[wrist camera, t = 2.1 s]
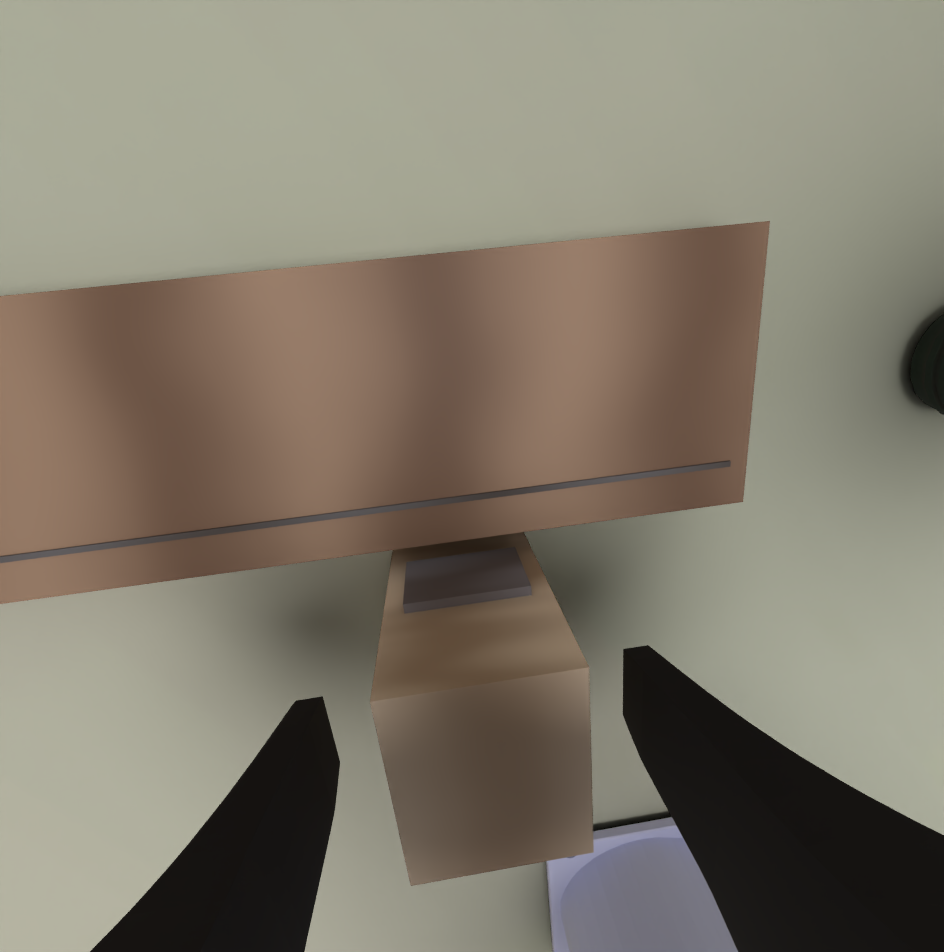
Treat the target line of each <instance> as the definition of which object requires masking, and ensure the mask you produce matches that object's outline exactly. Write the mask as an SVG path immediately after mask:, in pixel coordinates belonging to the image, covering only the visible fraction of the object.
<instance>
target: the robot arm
mask: <svg viewBox="0 0 944 952" xmlns="http://www.w3.org/2000/svg"><path fill="white" fill-rule="evenodd" d="M623 716H624V719H625V721H626V724H627V726H628V729H629V731H630V734H631V736H632V739H633V741H634V744H635V746H636V748H637V751H638V753H639V756H640V758H641V760H642V762H643V764H644V766H645V768H646V770H647V772H648V773H649V775H650V777H651V779H652V781H653V783H654V785H655V787H656V788H657V790H658V792H659V794H660V796H661V798H662V800H663V802H664V803H665V805H666V807H667V809H668V811H669V813H670V814H671V816H672V817H669V818H664V819H658V820H653V821H647V822H642V823H636V824H630V825H625V826H619V827H614V828H608V829H603V830H597V831H593V847H594V852H593V853H588V854H583V855H577V856H572V857H566V858H561V859H555V860H550V861H546V867H547V881H548V894H549V908H550V921H551V935H552V948H553V952H944V835H942V834H940V833H938V832H936V831H934V830H932V829H930V828H928V827H926V826H924V825H922V824H920V823H918V822H916V821H914V820H912V819H910V818H908V817H906V816H904V815H903V814H901V813H899V812H897V811H895V810H893V809H891V808H889V807H888V806H886V805H884V804H882V803H880V802H878V801H876V800H874V799H873V798H871V797H869V796H867V795H865V794H863V793H862V792H860V791H858V790H856V789H854V788H853V787H851V786H849V785H847V784H846V783H844V782H842V781H840V780H839V779H837V778H835V777H834V776H832V775H830V774H829V773H827V772H825V771H824V770H822V769H820V768H819V767H817V766H815V765H814V764H812V763H810V762H809V761H807V760H805V759H804V758H802V757H800V756H799V755H797V754H796V753H794V752H793V751H791V750H789V749H788V748H786V747H785V746H783V745H782V744H780V743H779V742H777V741H776V740H774V739H773V738H771V737H770V736H768V735H767V734H765V733H764V732H762V731H761V730H759V729H758V728H757V727H755V726H754V725H752V724H751V723H749V722H748V721H746V720H745V719H744V718H742V717H741V716H739V715H738V714H737V713H735V712H734V711H732V710H731V709H730V708H728V707H727V706H726V705H724V704H723V703H722V702H720V701H719V700H718V699H716V698H715V697H713V696H712V695H711V694H709V693H708V692H707V691H706V690H704V689H703V688H702V687H700V686H699V685H698V684H696V683H695V682H694V681H693V680H691V679H690V678H689V677H688V676H686V675H685V674H684V673H682V672H681V671H680V670H679V669H677V668H676V667H675V666H674V665H672V664H671V663H670V662H668V661H667V660H666V659H665V658H663V657H662V656H661V655H660V654H658V653H657V652H656V651H655V650H653V649H652V648H651V647H649V646H648V645H647V646H641V647H634V648H628V649H623ZM339 767H340V760H339V756H338V753H337V749H336V745H335V741H334V738H333V734H332V730H331V726H330V723H329V719H328V715H327V711H326V708H325V704H324V700H323V697H317V698H311V699H304V700H298V701H295V703H294V704H293V705H292V706H291V708H290V709H289V711H288V712H287V713H286V715H285V716H284V718H283V719H282V721H281V722H280V723H279V725H278V726H277V728H276V729H275V730H274V732H273V733H272V735H271V736H270V738H269V739H268V740H267V742H266V743H265V745H264V746H263V747H262V749H261V750H260V752H259V753H258V754H257V756H256V757H255V759H254V760H253V761H252V763H251V764H250V765H249V767H248V768H247V769H246V771H245V772H244V773H243V775H242V776H241V778H240V779H239V780H238V782H237V783H236V784H235V786H234V787H233V788H232V790H231V791H230V792H229V794H228V795H227V796H226V798H225V799H224V800H223V801H222V803H221V804H220V805H219V806H218V808H217V809H216V810H215V811H214V813H213V814H212V815H211V816H210V818H209V819H208V820H207V821H206V823H205V824H204V825H203V827H202V828H201V829H200V830H199V832H198V833H197V834H196V835H195V837H194V838H193V839H192V840H191V841H190V843H189V844H188V845H187V846H186V848H185V849H184V850H183V851H182V852H181V853H180V855H179V856H178V857H177V858H176V859H175V861H174V862H173V863H172V864H171V865H170V866H169V867H168V869H167V870H166V871H165V872H164V873H163V874H162V876H161V877H160V878H159V879H158V880H157V881H156V882H155V883H154V885H153V886H152V887H151V888H150V889H149V890H148V891H147V892H146V893H145V895H144V896H143V897H142V898H141V899H140V900H139V901H138V902H137V903H136V905H135V906H134V907H133V908H132V909H131V910H130V911H129V912H128V913H127V914H126V915H125V916H124V917H123V918H122V919H121V920H120V921H119V923H118V924H117V925H116V926H115V927H114V928H113V929H112V930H111V931H110V932H109V933H108V934H107V935H106V936H105V937H104V938H103V939H102V940H101V941H100V942H99V943H98V944H97V945H96V946H95V947H94V948H93V949H92V950H91V951H90V952H304V951H305V946H306V941H307V936H308V932H309V927H310V922H311V918H312V913H313V909H314V904H315V900H316V895H317V891H318V886H319V882H320V877H321V872H322V868H323V863H324V859H325V854H326V850H327V845H328V840H329V836H330V831H331V826H332V821H333V817H334V811H335V803H336V795H337V786H338V776H339Z"/></svg>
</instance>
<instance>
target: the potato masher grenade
mask: <svg viewBox="0 0 944 952" xmlns="http://www.w3.org/2000/svg"><path fill="white" fill-rule="evenodd" d="M910 376H911V381H912V384H913V387H914V391H915V393H916V394H917V395H918V397H919V398H920V399H921V400H922V401H923V402H924V403H925V404H927V405H929V406H931V407H933V408H935V409H937V410H938V411H939V412H940V413H941V414H944V314H943V315H942V316H941V317H940V318H939V319H937V320H936V321H935V322H934V323H933V324H932V325H931V326H930V327H929V329H928V330H927V331H926V333H925V334H924V336H923V337H922V338H921V340H920V341H919V342H918V345H917V347H916V350H915V353H914V355H913V358H912V363H911V375H910Z"/></svg>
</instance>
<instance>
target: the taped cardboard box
mask: <svg viewBox="0 0 944 952" xmlns="http://www.w3.org/2000/svg"><path fill="white" fill-rule="evenodd" d="M370 704H371V709H372V713H373V718H374V722H375V727H376V731H377V736H378V740H379V745H380V749H381V754H382V758H383V763H384V767H385V772H386V776H387V781H388V785H389V790H390V794H391V799H392V803H393V808H394V812H395V817H396V821H397V826H398V830H399V835H400V839H401V844H402V848H403V853H404V857H405V862H406V866H407V871H408V876H409V880H410V885H411V886H413V885H419V884H424V883H430V882H435V881H441V880H446V879H451V878H457V877H462V876H468V875H473V874H479V873H484V872H490V871H495V870H501V869H506V868H512V867H517V866H522V865H528V864H533V863H539V862H544V861H550V860H555V859H561V858H566V857H572V856H577V855H583V854H588V853H593V852H594V847H593V805H592V764H591V722H590V681H589V666H588V664H587V662H586V660H585V658H584V656H583V654H582V652H581V649H580V647H579V645H578V643H577V641H576V639H575V637H574V635H573V633H572V631H571V629H570V627H569V625H568V623H567V621H566V619H565V617H564V614H563V612H562V610H561V608H560V606H559V604H558V602H557V600H556V598H555V596H554V594H553V592H552V590H551V588H550V586H549V584H548V582H547V579H546V577H545V575H544V573H543V571H542V569H541V567H540V565H539V563H538V561H537V559H536V557H535V555H534V553H533V551H532V549H531V546H530V544H529V542H528V540H527V538H526V536H525V534H524V532H520V533H512V534H505V535H498V536H490V537H483V538H476V539H469V540H461V541H454V542H447V543H440V544H432V545H425V546H418V547H410V548H403V549H396V550H393V552H392V559H391V566H390V572H389V579H388V586H387V592H386V599H385V606H384V612H383V619H382V625H381V632H380V639H379V645H378V652H377V659H376V665H375V672H374V679H373V685H372V692H371V699H370Z"/></svg>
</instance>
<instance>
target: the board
mask: <svg viewBox="0 0 944 952" xmlns="http://www.w3.org/2000/svg"><path fill="white" fill-rule="evenodd" d="M769 224H770V221H765V222H755V223H745V224H735V225H725V226H714V227H704V228H694V229H684V230H673V231H663V232H653V233H643V234H632V235H622V236H612V237H602V238H591V239H581V240H571V241H561V242H551V243H540V244H530V245H520V246H510V247H499V248H489V249H479V250H469V251H458V252H448V253H438V254H428V255H417V256H407V257H397V258H387V259H377V260H366V261H356V262H346V263H336V264H325V265H315V266H305V267H295V268H284V269H274V270H264V271H254V272H243V273H233V274H223V275H213V276H203V277H192V278H182V279H172V280H162V281H151V282H141V283H131V284H121V285H110V286H100V287H90V288H80V289H69V290H59V291H49V292H39V293H29V294H18V295H8V296H0V604H3V603H10V602H18V601H25V600H32V599H40V598H47V597H54V596H61V595H69V594H76V593H83V592H90V591H98V590H105V589H112V588H120V587H127V586H134V585H141V584H149V583H156V582H163V581H170V580H178V579H185V578H192V577H200V576H207V575H214V574H221V573H229V572H236V571H243V570H250V569H258V568H265V567H272V566H280V565H287V564H294V563H301V562H309V561H316V560H323V559H330V558H338V557H345V556H352V555H360V554H367V553H374V552H381V551H389V550H396V549H403V548H410V547H418V546H425V545H432V544H440V543H447V542H454V541H461V540H469V539H476V538H483V537H490V536H498V535H505V534H512V533H520V532H527V531H534V530H541V529H549V528H556V527H563V526H570V525H578V524H585V523H592V522H600V521H607V520H614V519H621V518H629V517H636V516H643V515H650V514H658V513H665V512H672V511H680V510H687V509H694V508H701V507H709V506H716V505H723V504H730V503H738V502H743V495H744V485H745V474H746V464H747V453H748V443H749V433H750V422H751V412H752V401H753V391H754V380H755V370H756V359H757V349H758V339H759V328H760V318H761V307H762V297H763V286H764V276H765V265H766V255H767V244H768V234H769Z"/></svg>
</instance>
